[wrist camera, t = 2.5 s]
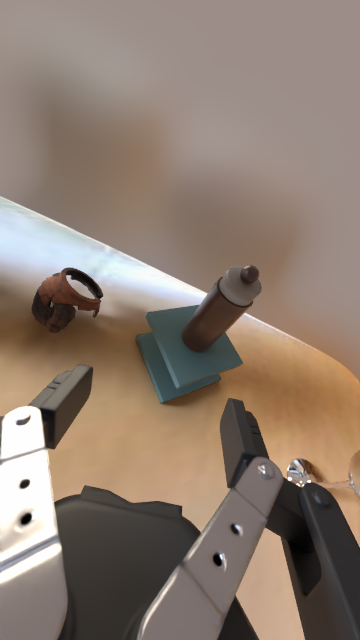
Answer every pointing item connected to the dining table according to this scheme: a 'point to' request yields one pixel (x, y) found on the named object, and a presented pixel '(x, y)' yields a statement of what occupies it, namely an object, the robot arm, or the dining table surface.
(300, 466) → the wineglass
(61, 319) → the brown clay hollow piece
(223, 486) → the dining table surface
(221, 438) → the robot arm
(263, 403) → the dining table surface
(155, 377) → the stand
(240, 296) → the pepper mill
